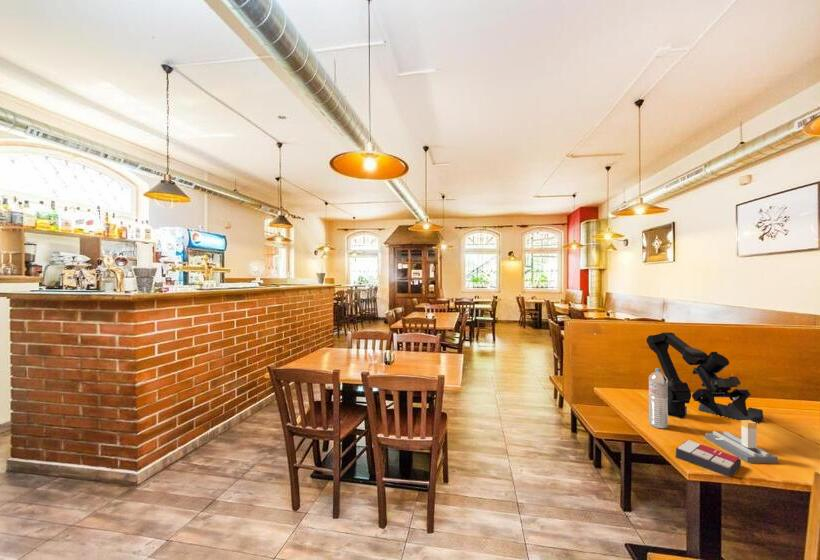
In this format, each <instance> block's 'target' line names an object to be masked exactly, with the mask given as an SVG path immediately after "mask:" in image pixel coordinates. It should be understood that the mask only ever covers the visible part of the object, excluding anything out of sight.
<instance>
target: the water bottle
mask: <svg viewBox="0 0 820 560" xmlns="http://www.w3.org/2000/svg"><path fill="white" fill-rule="evenodd" d="M661 369H662V368H658V367H657V368H656V367H655V369H654V370H655V371H654V372H652V373H650V375H648V423H649V425H650V426H651V427H653V428H656V429H661V430H662V429H664V430H665V429H667V428H668V427H669V415H668V379H667V378H666V376H665V374H664V373H662V372H661Z"/></svg>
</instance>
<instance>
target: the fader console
mask: <svg viewBox="0 0 820 560" xmlns="http://www.w3.org/2000/svg"><path fill="white" fill-rule="evenodd" d="M704 435H705V436H704V438H705V439H706V440H707V441H709V442H712V443H713V444H715V445H716V446H718V447H720V448H721V449H723V450H725V451H727V452H728V453H729V454H730V453H731V455H733V456H735V457H738V458H739V459H740V460H741V461H742V460H743V461H744V462H746V463H748V464H749V463H752V464H753V463H754V464H755V463H756V464H769V463H770V464H779V463H778V462H779V461H778V460H779V458H778V456H776V455H774V454H772V453H770V452H768V451H766V450H764V449H762V448H761V447H758V446H757V448H756V451H751V450H749V449H747V448H745V447H744V446H742V445H741V437H739V436H737V435H735V434H733V433H731V432H730V433H729V432H728V431H727V430H726V431H723V432H721V433H719V432H717V431H715V430H714V431H712V432H707V433H706V432H705V434H704Z"/></svg>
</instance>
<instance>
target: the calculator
mask: <svg viewBox="0 0 820 560" xmlns="http://www.w3.org/2000/svg"><path fill="white" fill-rule="evenodd" d="M675 458H676V459H679V460H682V461H683V462H684V461H685V462H688V463H691V464H694V465H696V466H699V467H702V468H704V469H706V470H709V471H712V472H714V473H718V474H720V475H723V476H726V477H729V478H731V477H733V476H734V475H735V474H736V472H737V471H738V470H739V469H740V468H741V466H742V465H741V464H742V462H741V461H742V459H740V458H739V457H737V456H735V455H734V454H730V453H727V452H724V451H721V450H718V449H717V448H713V447H711V446H708V445H705V444H701V443H699V442H695V441H693V440H690V439H687V440H686V441H685V442H682V444H680V445H678V446H677V447H676V448H675ZM733 474H734V475H733Z"/></svg>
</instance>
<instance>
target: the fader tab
mask: <svg viewBox="0 0 820 560" xmlns="http://www.w3.org/2000/svg"><path fill="white" fill-rule="evenodd" d="M740 422H741V424H740V425H741V427H740V428H741V430H740V431H741V432H740V433H741V437H740V438H741V445H742V446H744V447H745V448H747V449H749V450H751V451H756V448H757V447H758V446H757V444H758V443H757V442H758V441H757V434H758V433H757V431H758V430H757V429H758V428H757V425H758V424H757V423H755V422H753V421H751V420H741V421H740Z"/></svg>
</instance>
